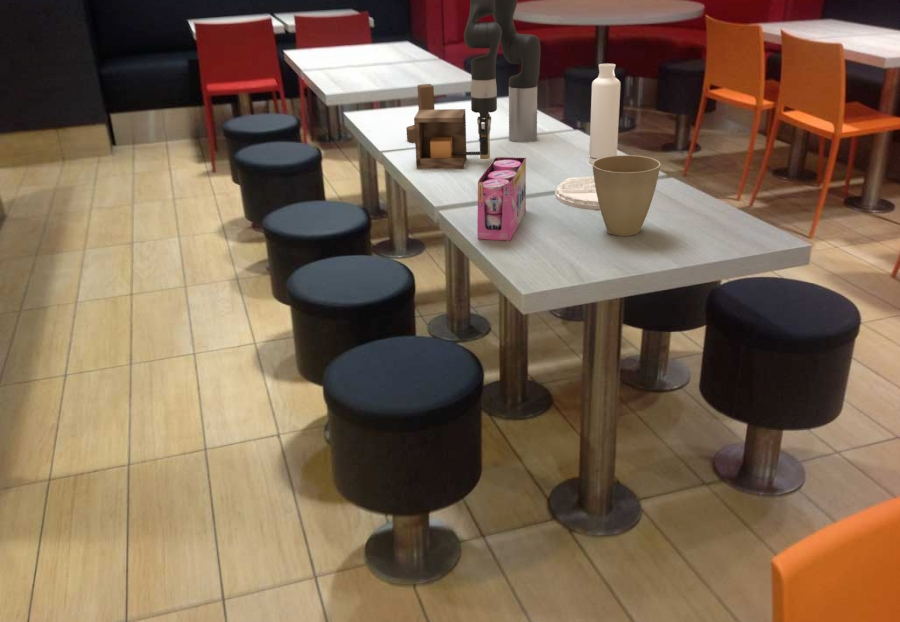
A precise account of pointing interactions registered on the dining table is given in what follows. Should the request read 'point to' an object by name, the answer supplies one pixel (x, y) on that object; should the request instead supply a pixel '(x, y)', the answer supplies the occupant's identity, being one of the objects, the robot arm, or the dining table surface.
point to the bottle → (604, 114)
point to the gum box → (501, 198)
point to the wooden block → (422, 106)
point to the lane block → (443, 148)
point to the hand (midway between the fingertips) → (484, 151)
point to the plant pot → (625, 191)
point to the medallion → (578, 193)
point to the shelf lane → (440, 126)
